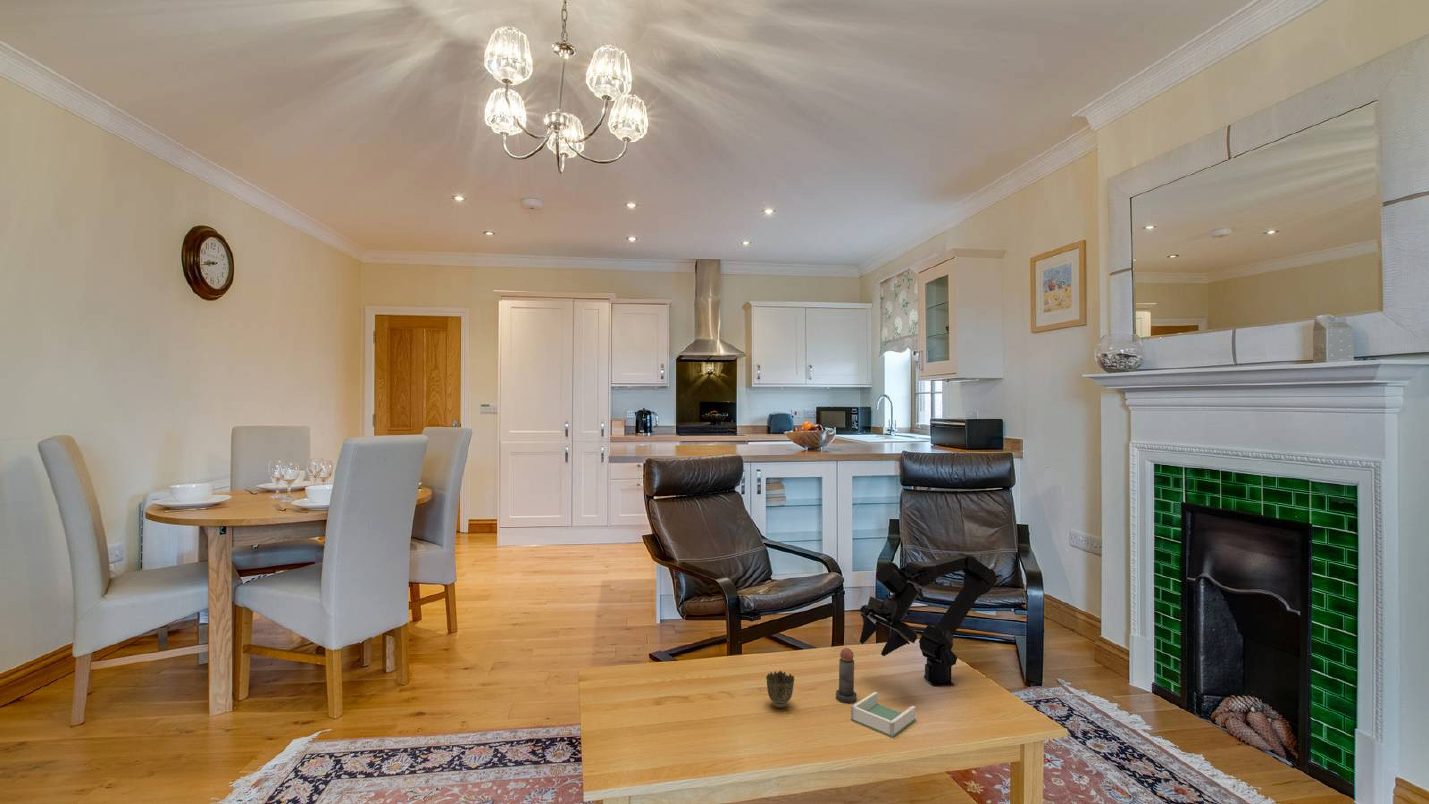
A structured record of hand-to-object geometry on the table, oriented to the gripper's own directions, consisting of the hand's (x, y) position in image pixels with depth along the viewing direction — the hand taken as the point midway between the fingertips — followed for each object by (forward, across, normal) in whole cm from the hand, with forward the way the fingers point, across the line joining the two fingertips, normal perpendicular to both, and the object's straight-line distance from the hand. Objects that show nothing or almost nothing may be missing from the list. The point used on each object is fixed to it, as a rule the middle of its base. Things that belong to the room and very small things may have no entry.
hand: (871, 649), depth 173 cm
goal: (+14, +12, +4) cm, 18 cm away
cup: (+27, -5, -12) cm, 30 cm away
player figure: (+15, -2, +3) cm, 15 cm away
